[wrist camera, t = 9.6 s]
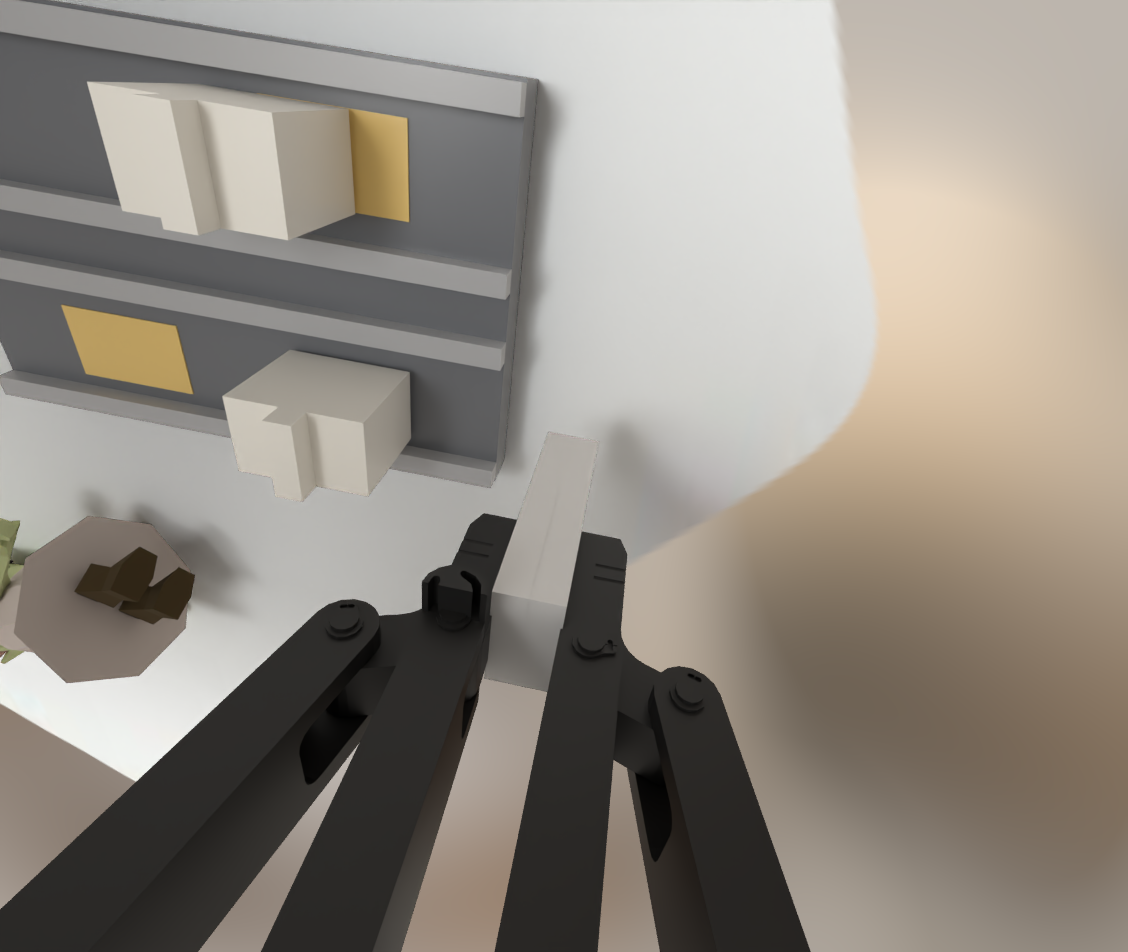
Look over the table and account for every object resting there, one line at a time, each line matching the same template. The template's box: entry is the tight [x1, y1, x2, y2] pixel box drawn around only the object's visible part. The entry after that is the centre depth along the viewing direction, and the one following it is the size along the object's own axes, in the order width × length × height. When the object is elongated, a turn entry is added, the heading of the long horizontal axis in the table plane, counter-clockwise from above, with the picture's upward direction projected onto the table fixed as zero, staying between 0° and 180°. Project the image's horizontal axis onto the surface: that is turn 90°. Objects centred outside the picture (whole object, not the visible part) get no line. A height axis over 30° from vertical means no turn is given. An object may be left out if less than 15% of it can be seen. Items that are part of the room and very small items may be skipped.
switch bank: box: [0, 0, 538, 488], centre depth 18 cm, size 18×12×2 cm, turn 82°
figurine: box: [0, 516, 195, 683], centre depth 26 cm, size 9×7×15 cm
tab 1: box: [87, 82, 355, 240], centre depth 14 cm, size 4×2×4 cm, turn 82°
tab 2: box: [222, 350, 411, 502], centre depth 18 cm, size 4×2×4 cm, turn 82°
